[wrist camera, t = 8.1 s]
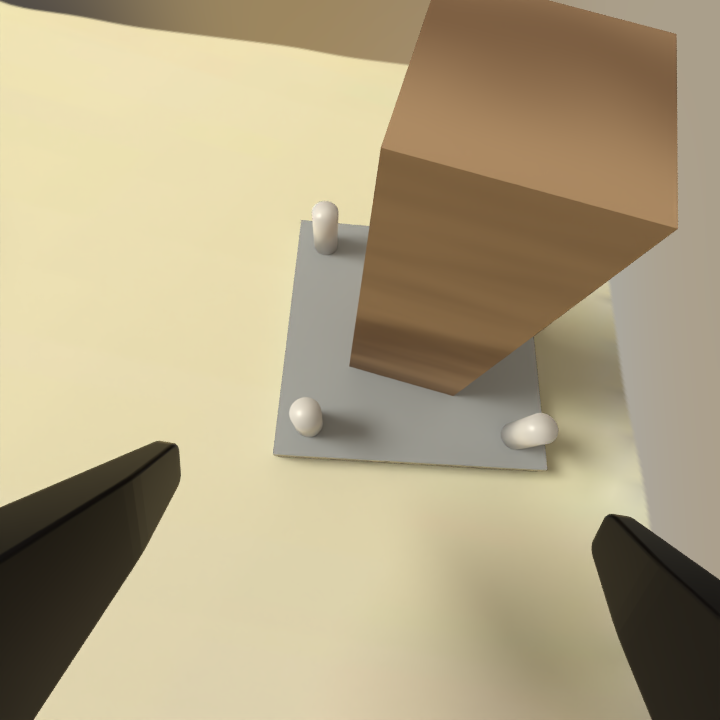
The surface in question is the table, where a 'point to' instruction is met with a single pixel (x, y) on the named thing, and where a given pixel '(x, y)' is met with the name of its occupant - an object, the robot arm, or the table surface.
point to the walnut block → (512, 182)
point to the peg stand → (390, 380)
